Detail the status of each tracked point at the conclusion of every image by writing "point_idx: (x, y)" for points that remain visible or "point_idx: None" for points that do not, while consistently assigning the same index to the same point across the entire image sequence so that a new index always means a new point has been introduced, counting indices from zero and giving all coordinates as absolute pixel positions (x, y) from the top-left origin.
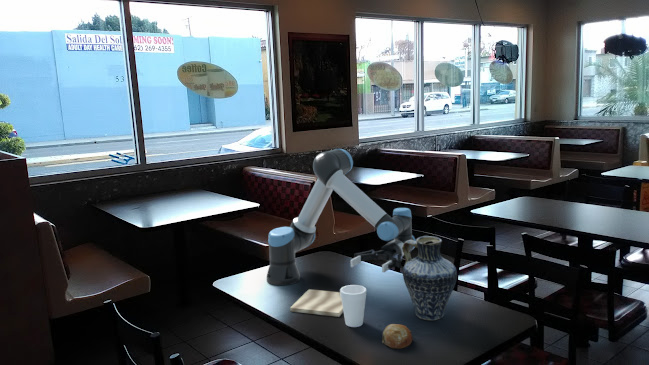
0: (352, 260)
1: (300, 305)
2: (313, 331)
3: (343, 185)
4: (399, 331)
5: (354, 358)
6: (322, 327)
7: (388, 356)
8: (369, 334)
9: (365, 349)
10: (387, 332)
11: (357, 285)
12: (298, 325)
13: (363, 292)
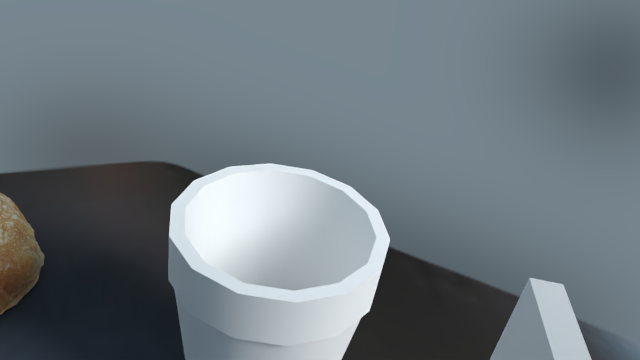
0: (530, 292)
1: None
2: (409, 283)
3: None
4: None
5: (153, 163)
6: (397, 323)
7: (15, 185)
8: (123, 312)
9: (121, 208)
10: (6, 197)
11: (282, 293)
12: None
13: (180, 196)
